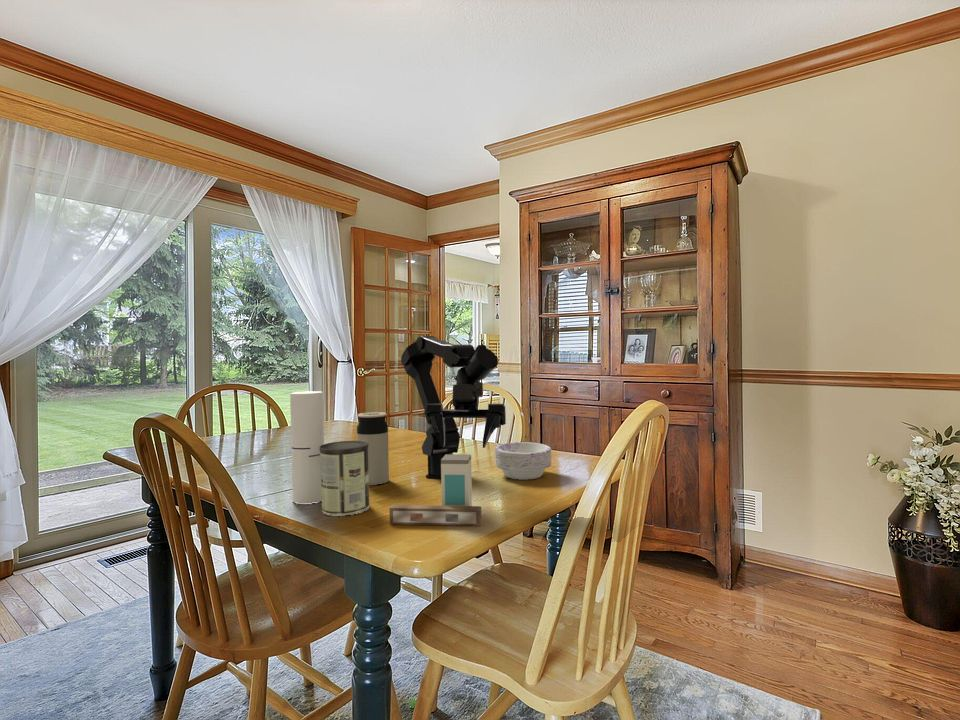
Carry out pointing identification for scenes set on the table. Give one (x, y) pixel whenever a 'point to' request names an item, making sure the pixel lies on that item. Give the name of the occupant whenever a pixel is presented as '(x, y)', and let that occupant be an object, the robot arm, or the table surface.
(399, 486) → the table surface
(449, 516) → the brown wooden bar
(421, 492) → the table surface
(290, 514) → the table surface
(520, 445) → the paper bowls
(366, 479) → the coffee can
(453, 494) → the carton
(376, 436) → the travel mug
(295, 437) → the cylindrical container
